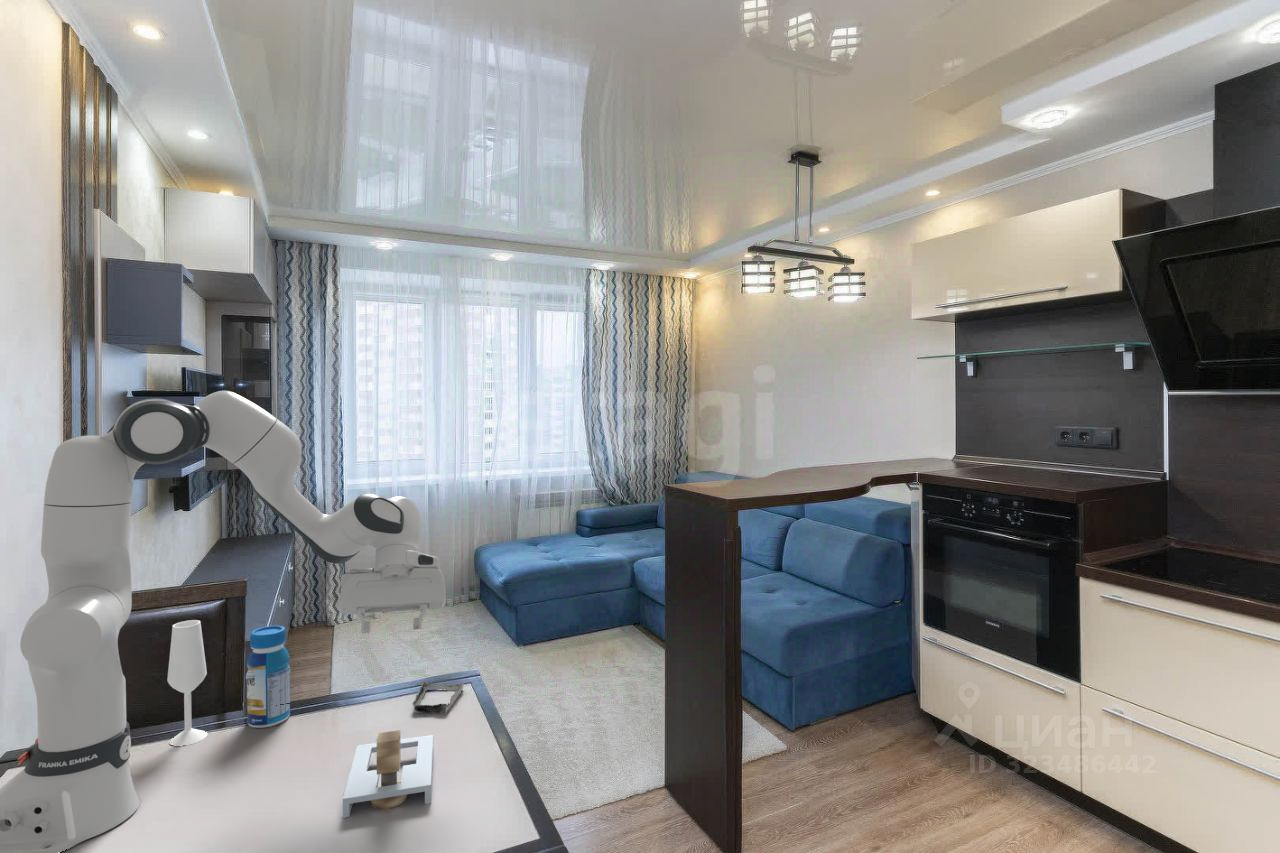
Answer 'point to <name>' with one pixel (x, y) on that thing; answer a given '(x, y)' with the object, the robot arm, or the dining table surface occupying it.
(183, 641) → the champagne flute
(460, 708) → the dining table surface
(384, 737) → the beech peg
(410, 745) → the keyhole plate
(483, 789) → the dining table surface
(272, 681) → the beverage bottle
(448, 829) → the dining table surface
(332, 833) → the dining table surface
